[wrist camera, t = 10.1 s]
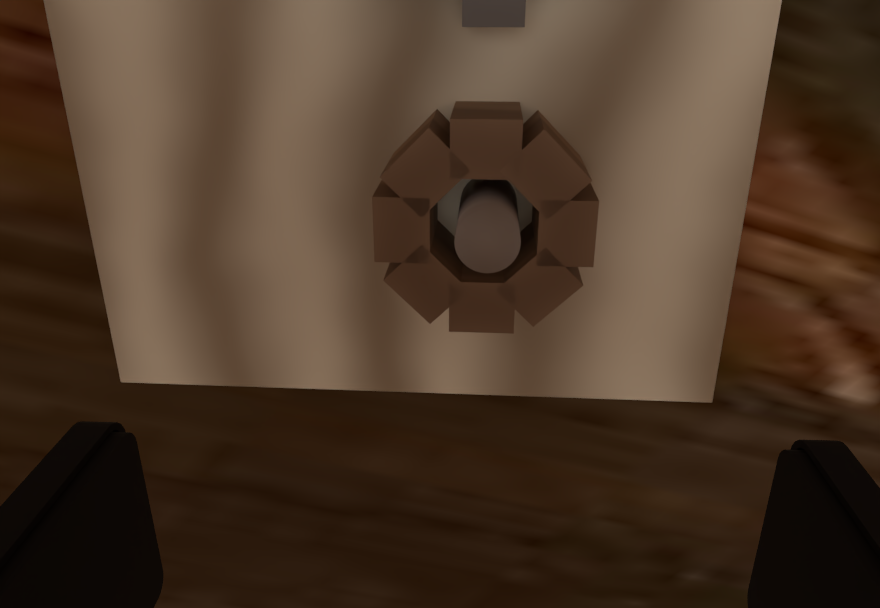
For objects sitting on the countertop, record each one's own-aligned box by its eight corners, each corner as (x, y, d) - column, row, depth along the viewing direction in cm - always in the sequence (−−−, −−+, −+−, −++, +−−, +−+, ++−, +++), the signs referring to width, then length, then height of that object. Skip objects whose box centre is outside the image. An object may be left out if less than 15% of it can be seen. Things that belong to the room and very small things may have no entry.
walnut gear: (384, 100, 25) (368, 118, 22) (591, 102, 25) (606, 120, 21) (390, 289, 28) (377, 329, 25) (576, 294, 27) (586, 335, 24)
